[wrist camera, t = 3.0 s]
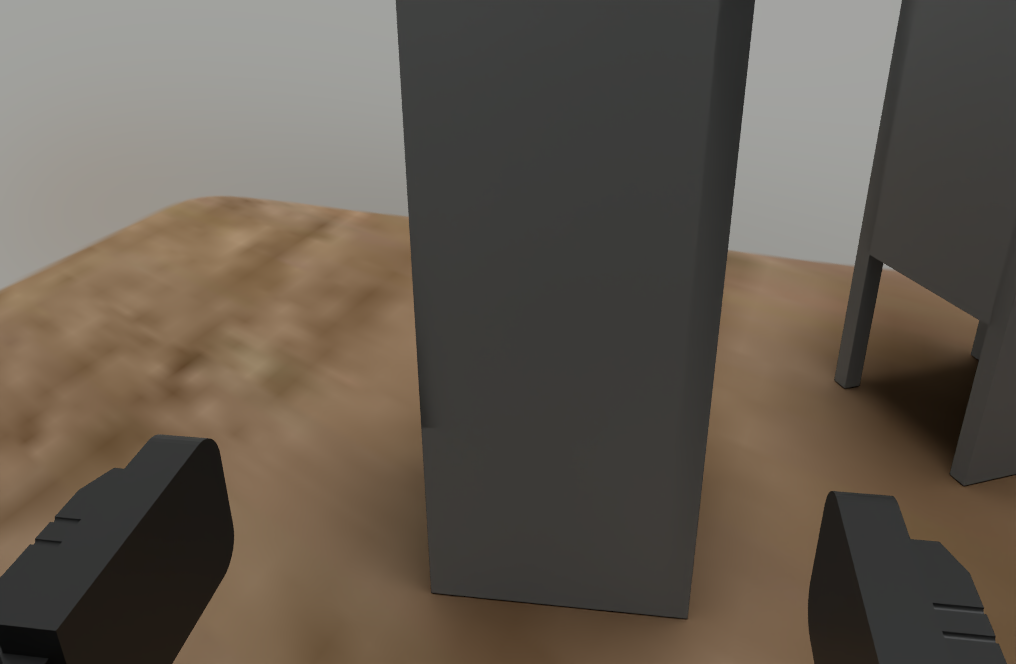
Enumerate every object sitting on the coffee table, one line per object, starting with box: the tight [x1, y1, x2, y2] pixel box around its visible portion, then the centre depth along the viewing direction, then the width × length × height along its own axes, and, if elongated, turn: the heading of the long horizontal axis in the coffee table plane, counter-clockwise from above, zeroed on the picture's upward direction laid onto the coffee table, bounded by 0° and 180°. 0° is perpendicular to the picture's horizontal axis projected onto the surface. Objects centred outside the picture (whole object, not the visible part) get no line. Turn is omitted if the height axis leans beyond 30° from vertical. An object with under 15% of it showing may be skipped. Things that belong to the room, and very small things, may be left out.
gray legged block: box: [396, 0, 755, 619], centre depth 23 cm, size 6×6×16 cm
